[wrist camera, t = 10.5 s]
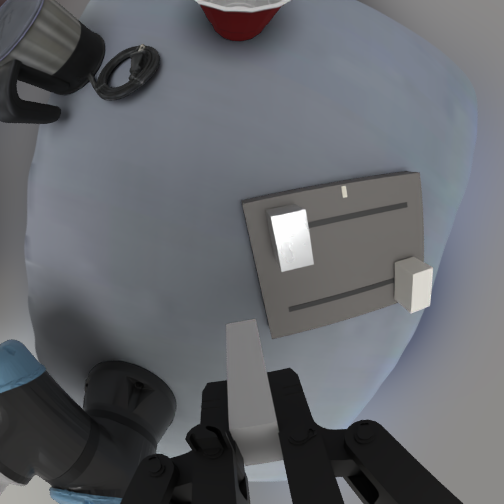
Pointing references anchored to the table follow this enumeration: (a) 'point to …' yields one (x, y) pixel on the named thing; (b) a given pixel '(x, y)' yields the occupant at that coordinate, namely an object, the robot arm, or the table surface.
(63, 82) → the milk frother
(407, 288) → the fader
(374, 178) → the slider panel
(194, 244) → the table surface
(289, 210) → the fader
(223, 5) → the plastic cup
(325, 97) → the table surface
